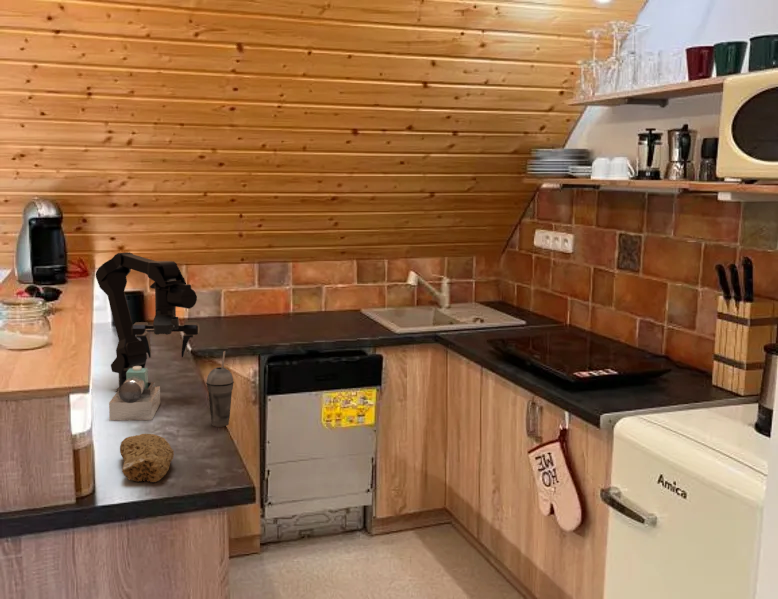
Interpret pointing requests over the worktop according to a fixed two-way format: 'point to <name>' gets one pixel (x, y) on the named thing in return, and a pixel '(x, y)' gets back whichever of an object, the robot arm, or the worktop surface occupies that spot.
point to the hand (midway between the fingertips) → (166, 357)
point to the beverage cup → (220, 394)
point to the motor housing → (135, 401)
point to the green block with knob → (138, 374)
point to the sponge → (146, 457)
